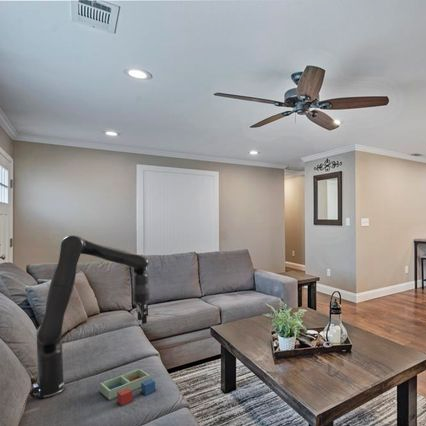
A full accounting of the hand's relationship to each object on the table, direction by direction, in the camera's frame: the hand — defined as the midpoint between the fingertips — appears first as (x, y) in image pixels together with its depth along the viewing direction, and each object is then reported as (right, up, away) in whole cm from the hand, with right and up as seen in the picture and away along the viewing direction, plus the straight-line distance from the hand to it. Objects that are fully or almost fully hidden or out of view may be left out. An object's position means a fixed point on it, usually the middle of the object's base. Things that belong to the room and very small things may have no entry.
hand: (142, 321), depth 177 cm
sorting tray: (+3, -25, -21) cm, 32 cm away
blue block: (+17, -24, -25) cm, 39 cm away
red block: (+10, -24, -33) cm, 42 cm away
